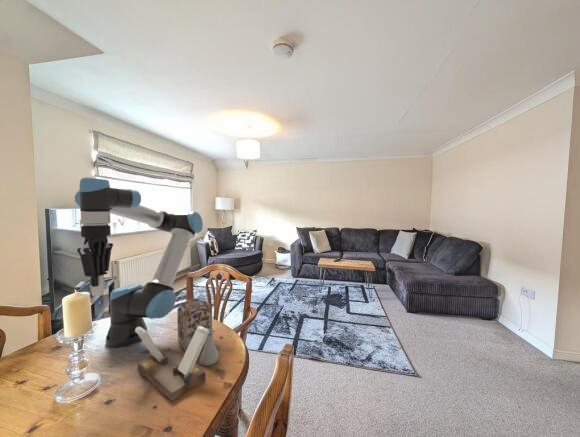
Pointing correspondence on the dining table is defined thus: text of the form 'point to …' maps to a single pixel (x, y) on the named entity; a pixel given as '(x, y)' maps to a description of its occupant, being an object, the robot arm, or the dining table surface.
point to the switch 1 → (149, 343)
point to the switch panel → (170, 374)
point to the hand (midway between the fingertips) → (97, 294)
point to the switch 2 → (193, 350)
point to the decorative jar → (193, 319)
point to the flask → (209, 352)
